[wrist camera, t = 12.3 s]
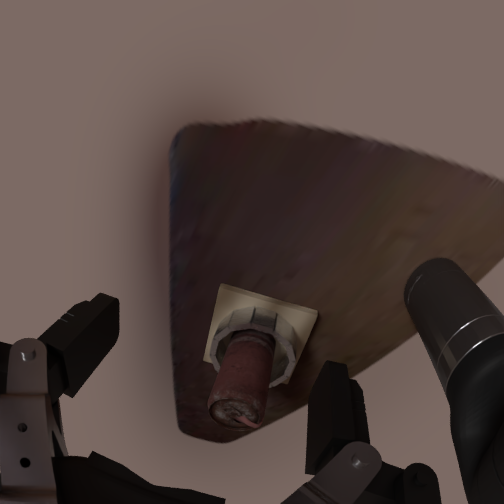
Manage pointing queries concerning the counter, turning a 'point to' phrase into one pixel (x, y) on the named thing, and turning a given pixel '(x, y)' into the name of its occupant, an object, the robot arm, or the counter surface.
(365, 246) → the counter surface
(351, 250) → the counter surface
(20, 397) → the robot arm
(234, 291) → the stand
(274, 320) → the collar
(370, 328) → the counter surface
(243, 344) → the can
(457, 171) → the counter surface
